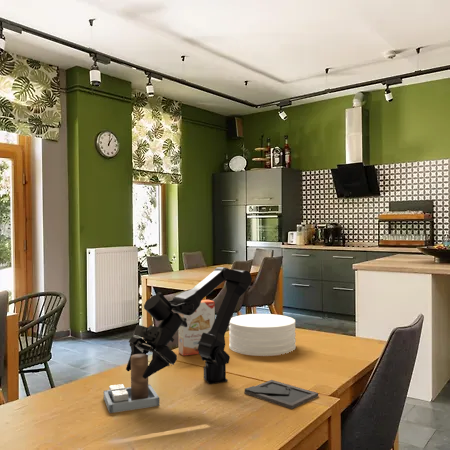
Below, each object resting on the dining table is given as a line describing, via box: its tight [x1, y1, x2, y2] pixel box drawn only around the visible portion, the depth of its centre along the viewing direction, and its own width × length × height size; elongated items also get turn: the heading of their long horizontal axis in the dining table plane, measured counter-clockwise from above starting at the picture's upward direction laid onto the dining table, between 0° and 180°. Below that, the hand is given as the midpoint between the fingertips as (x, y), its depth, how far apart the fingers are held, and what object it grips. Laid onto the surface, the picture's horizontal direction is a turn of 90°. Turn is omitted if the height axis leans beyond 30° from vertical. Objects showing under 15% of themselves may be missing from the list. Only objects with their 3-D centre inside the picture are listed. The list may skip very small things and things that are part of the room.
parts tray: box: [103, 384, 160, 414], centre depth 137 cm, size 14×12×3 cm
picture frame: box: [243, 379, 319, 410], centre depth 144 cm, size 13×2×18 cm
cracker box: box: [177, 299, 216, 357], centre depth 192 cm, size 14×6×21 cm, turn 117°
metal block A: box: [108, 383, 126, 401], centre depth 138 cm, size 4×4×4 cm
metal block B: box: [112, 389, 128, 403], centre depth 133 cm, size 4×4×4 cm
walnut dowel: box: [130, 353, 149, 401], centre depth 138 cm, size 5×5×13 cm
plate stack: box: [228, 313, 297, 357], centre depth 200 cm, size 28×28×12 cm
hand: (135, 374), depth 137 cm, fingers open, 9 cm apart
